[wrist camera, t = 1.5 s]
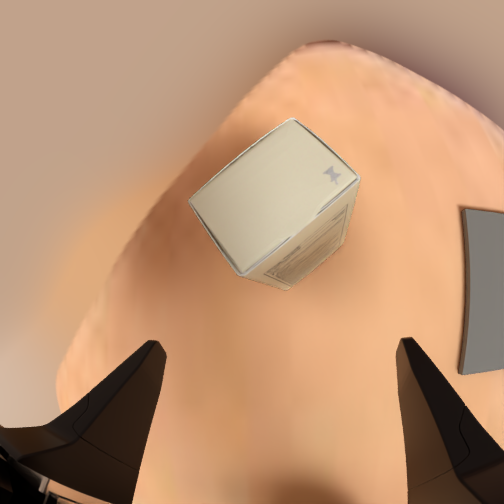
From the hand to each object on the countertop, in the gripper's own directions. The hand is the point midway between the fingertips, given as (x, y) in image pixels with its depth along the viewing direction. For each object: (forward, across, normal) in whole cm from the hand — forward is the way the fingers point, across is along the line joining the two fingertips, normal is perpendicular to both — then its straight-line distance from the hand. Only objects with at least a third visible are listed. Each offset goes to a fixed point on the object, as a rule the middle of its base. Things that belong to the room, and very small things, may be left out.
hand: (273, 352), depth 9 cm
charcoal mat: (+9, -23, +8) cm, 26 cm away
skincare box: (+13, 0, +4) cm, 14 cm away
